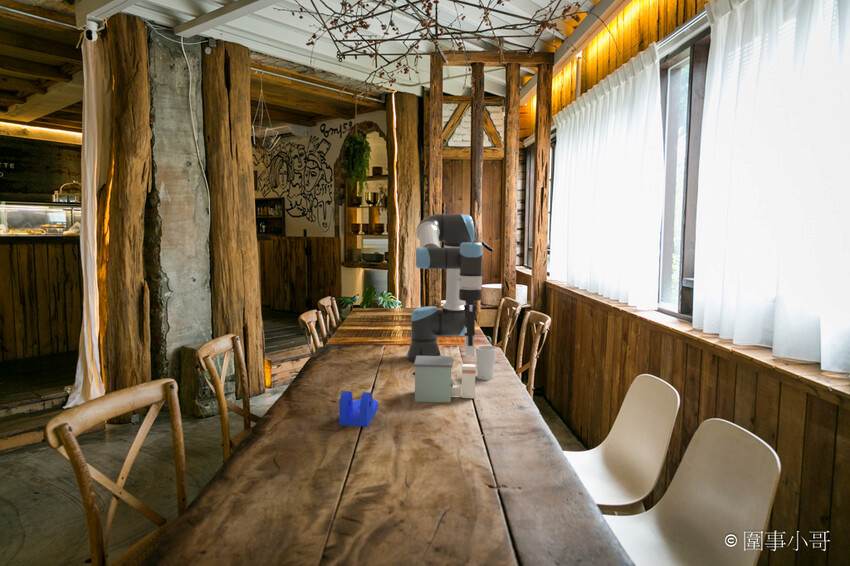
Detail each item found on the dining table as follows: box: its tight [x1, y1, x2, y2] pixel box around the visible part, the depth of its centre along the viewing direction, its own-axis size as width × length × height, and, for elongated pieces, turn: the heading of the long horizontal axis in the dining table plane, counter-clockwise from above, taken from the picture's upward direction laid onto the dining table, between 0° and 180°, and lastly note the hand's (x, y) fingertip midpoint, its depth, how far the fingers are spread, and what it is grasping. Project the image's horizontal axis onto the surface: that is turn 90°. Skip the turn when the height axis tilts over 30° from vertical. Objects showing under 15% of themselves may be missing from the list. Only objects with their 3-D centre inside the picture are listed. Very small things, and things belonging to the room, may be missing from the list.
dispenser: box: [413, 355, 454, 404], centre depth 164 cm, size 13×12×13 cm
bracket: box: [338, 390, 379, 428], centre depth 148 cm, size 18×8×9 cm, turn 173°
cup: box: [475, 345, 497, 381], centre depth 187 cm, size 8×8×12 cm
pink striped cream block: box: [451, 363, 477, 399], centre depth 164 cm, size 14×3×11 cm, turn 87°
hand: (469, 350), depth 163 cm, fingers open, 13 cm apart
